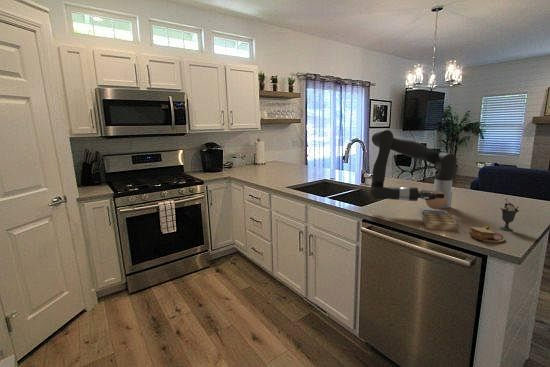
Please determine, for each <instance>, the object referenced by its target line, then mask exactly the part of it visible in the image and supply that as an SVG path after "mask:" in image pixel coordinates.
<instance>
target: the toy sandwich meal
mask: <svg viewBox="0 0 550 367" xmlns="http://www.w3.org/2000/svg"><path fill="white" fill-rule="evenodd" d="M490 227H491V226H490V225H487V226H483V227H474V226H470V227H469V229H470V231H468V235H470V236H472V237H473V238H474V239H476V240H478V239H479V241H481V240H482V242H485V241H486V242H485V243H492V242H493V243H495V244H496V243H497V244H498V242H499V243H501V242H503V241H505V240H506V238H505V237H504V236H503V234H501V233H500V232H498V231H491V230H489V229H490ZM493 243H492V244H493Z"/></svg>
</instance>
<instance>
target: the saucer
mask: <svg viewBox="0 0 550 367" xmlns="http://www.w3.org/2000/svg"><path fill="white" fill-rule="evenodd" d="M431 191H432V192H431V193H434V194H435V193H436V194H444V193H442V192H441V191H434V190H431ZM429 195H430V194H429ZM432 197H433V196H432ZM425 203H426V206H428V208H430V209H431V210H442V209H444V208H443V207H444V206H445V205H446V203H447V197H446V195H445V194H444V198H435V199H432V200H425Z"/></svg>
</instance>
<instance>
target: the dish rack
mask: <svg viewBox="0 0 550 367" xmlns="http://www.w3.org/2000/svg"><path fill="white" fill-rule="evenodd" d="M421 220H422V222H423V224H424V226H425V228H426V229H432V230H433V229H434V230H445V231H454V232H456V231H457V230H458V223H457V221H456V220H455V218H453V216H452V215H451V214H448V215H441V214H428V213H423V215H422V217H421Z"/></svg>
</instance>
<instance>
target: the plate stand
mask: <svg viewBox="0 0 550 367" xmlns="http://www.w3.org/2000/svg"><path fill="white" fill-rule="evenodd" d="M423 213H428V214H441V215H449V214H448V212H447V211H446V210H443V209H432V208H430V209H429V208H420V213H419V214H420V217H421V218H422V215H423Z"/></svg>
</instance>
